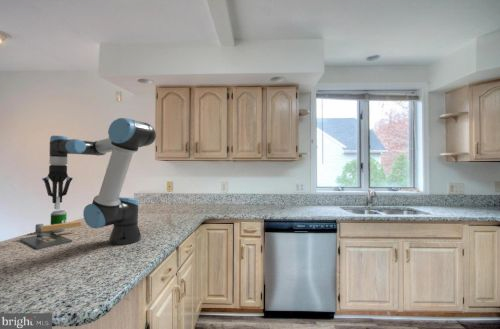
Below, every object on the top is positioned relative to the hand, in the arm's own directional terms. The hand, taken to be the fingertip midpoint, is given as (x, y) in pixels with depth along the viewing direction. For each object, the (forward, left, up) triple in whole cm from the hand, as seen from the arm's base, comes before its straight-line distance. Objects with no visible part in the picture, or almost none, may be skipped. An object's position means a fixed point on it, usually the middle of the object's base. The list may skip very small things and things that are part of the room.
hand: (57, 209), depth 129 cm
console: (+2, +4, -17) cm, 17 cm away
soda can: (+20, -8, -17) cm, 27 cm away
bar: (+9, -4, -13) cm, 17 cm away
